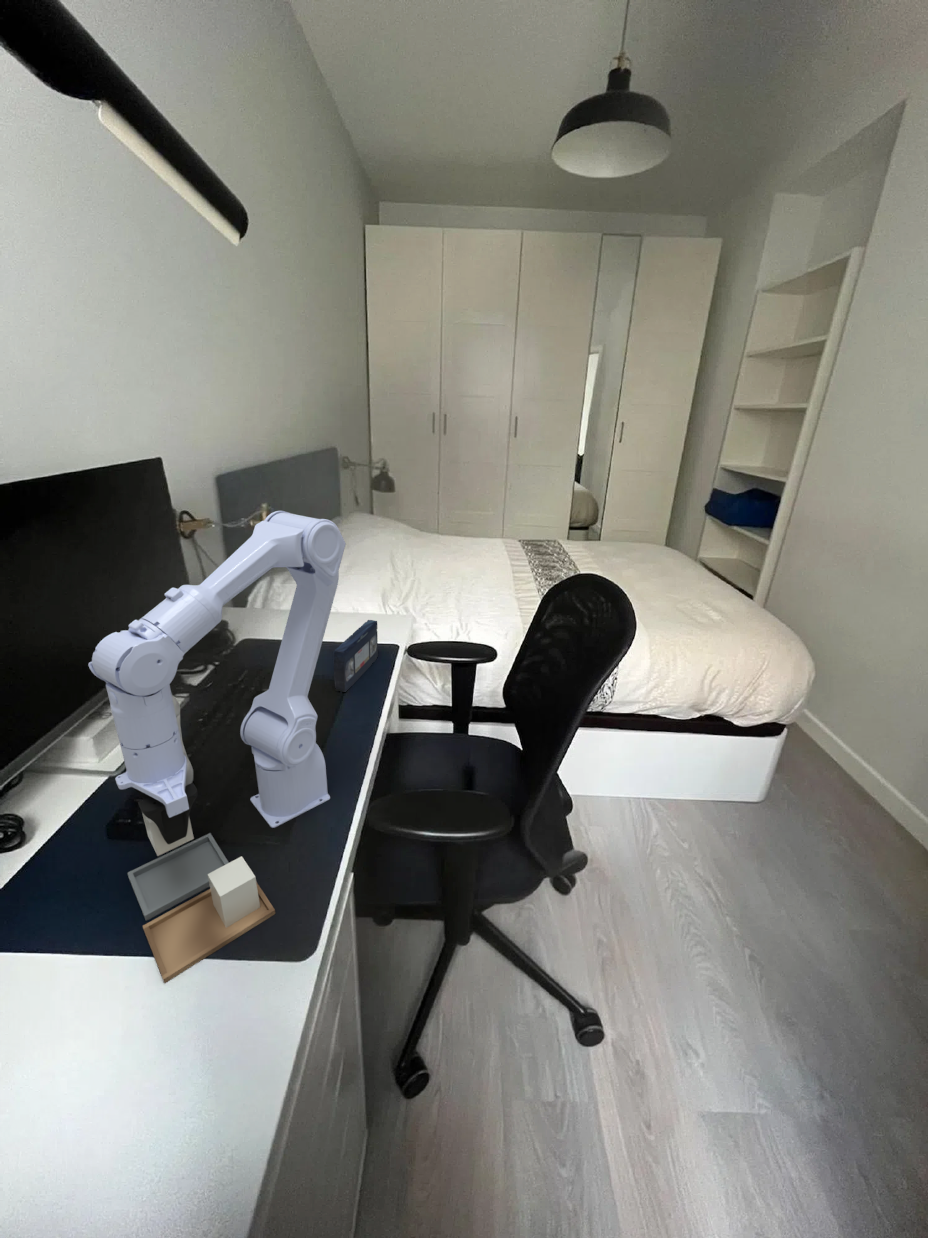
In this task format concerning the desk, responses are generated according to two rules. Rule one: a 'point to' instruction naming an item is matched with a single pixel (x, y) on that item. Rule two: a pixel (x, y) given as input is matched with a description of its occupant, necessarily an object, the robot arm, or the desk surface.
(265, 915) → the walnut tray
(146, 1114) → the desk surface
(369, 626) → the vhs cassette tape
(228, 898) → the stone
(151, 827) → the white block
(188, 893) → the charcoal tray
